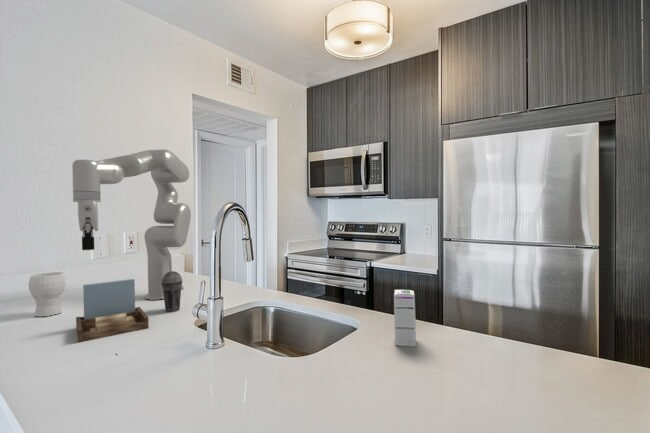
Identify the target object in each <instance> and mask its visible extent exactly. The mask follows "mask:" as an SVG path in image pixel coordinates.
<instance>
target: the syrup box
mask: <svg viewBox="0 0 650 433" xmlns="http://www.w3.org/2000/svg"><path fill="white" fill-rule="evenodd" d="M415 296H416V295H415V290H412V289H394V292H393V308H394V309H393V312H394V313H393V314H394V315H393V316H394V345H395V346H399V347H413V348H414V347H415V348H416V346H417V337H416V336H417V334H416V333H417V332H416V322H417V321H416V299H415Z"/></svg>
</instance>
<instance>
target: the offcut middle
mask: <svg viewBox="0 0 650 433" xmlns="http://www.w3.org/2000/svg"><path fill="white" fill-rule="evenodd" d="M134 323H135V319H134V318H133V317H132V316H128V317H127V321H123V322H117V323H111V324H105V325H99V326H96V323H95V329H96V330H97V331H98V330H103V329H108V328H113V327H119V326H124V325H129V324H134Z"/></svg>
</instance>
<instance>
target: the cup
mask: <svg viewBox="0 0 650 433" xmlns="http://www.w3.org/2000/svg"><path fill="white" fill-rule="evenodd" d="M65 286H66V276H65V273H64V272H63V271H62V272H61V271H53V272H52V271H51V272H50V271H49V272H42V273H35V274H32V275H30V278H29V280H28V290H29V292H30V295H31V297H32V298H33V299H34V302H35V306H36V308H35V312H34V313H35V314H34V317H35V316H48V315H52V314H56V313H59V312H61V311H62V307H61V296H62V294H63V292H64V290H65ZM61 313H62V312H61ZM48 317H49V316H48Z"/></svg>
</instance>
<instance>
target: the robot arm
mask: <svg viewBox="0 0 650 433" xmlns="http://www.w3.org/2000/svg"><path fill="white" fill-rule="evenodd" d="M71 166H72V202H73V203H77V218H78V225H79V226H78V227H79V231H80V232H82V236H81V250H82V251H93V250H94V251H95V237H94V230H95V231H96V232H98V230H99V216H98V215H99V214H98V203H101V201H102V200H101V198H102V197H101V196H102V195H101V185H115V184H118V183H120V182H122V181H123V180H124V178H130V177H137V176H141V175H143V174H145V173H148V172H150V176H151V179H152V180H153V183H154V185H155V186H156V189H157V196H156V197H157V198H156V202H155V207H154V211H153V219H154V220H153V221H155V223H157V224H161V225H153V226H151V227H148V228H147V229H146V231H145V232H144V243H145V247H146V253H147V285H148V286H147V288H148V290H147V291H148V293H146V294H145V295H144V296H143V297H144V299H145V300H147V299H149V300H148V301H159V299H162V300H164V293H163V288H162V284H161V283H162V279H163V277H164V275H165V274H166V273H168V272H170V265H169V260H171V270H172V271H173V269H172V266H173V264H172V255H171V252H170V250H169V248H181V247H183V246H184V245H185V244H186V242H187V239H188V234H189V229H190V223H191V218H192V217H191V216H192V215H191V214H192V213H191V209H190V207H189V205H187V203H183V202H178V200H179V199H178V198H179V193H178V190H177V189H176V188H175V186H174V185H173V184H174V183H175V184H178V183H179V184H180V183H181V184H182V183H185V182H188V181H187V180H189V178H190V171H189V168H188V166H187V165H186V163H184V162H183V161H182V160H181V159H180V157H178V156H177V154H175V153H174V152H172V151H171V150H168V149H148V150H143V151H139V152H134V153H131V154H126V155H120V156H115V157H111V158H105V159H99V160H92V159H76V160H74V161H73V162H72V165H71ZM183 290H184V285H182V287H181V291H183Z"/></svg>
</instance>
